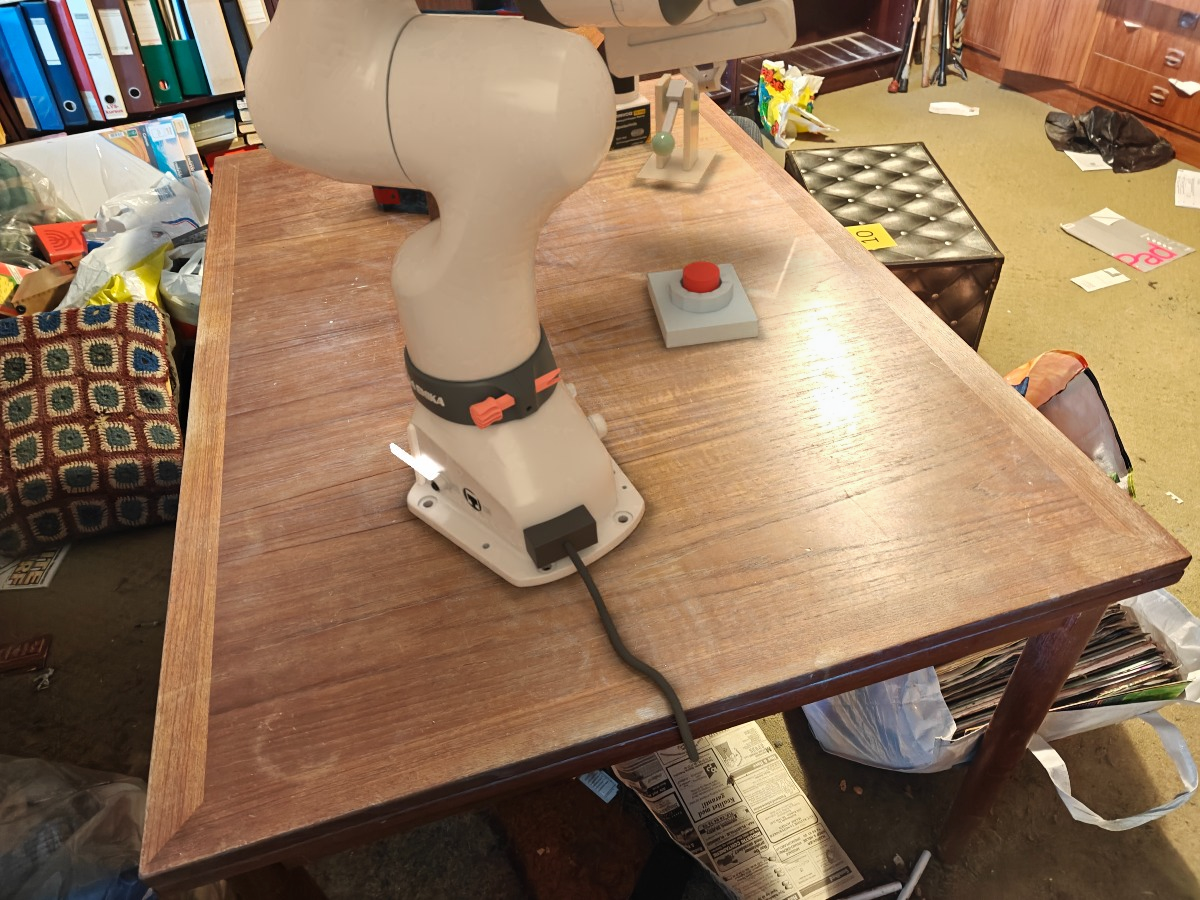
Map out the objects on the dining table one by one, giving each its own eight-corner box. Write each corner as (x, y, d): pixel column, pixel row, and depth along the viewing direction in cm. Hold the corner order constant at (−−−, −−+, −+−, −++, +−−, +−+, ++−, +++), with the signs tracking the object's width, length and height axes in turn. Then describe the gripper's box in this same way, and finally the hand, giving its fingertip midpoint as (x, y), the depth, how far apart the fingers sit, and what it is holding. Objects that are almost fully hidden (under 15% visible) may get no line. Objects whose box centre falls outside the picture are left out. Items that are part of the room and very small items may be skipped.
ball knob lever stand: (697, 191, 119) (699, 98, 110) (635, 184, 121) (632, 93, 112) (717, 157, 126) (720, 68, 117) (658, 152, 129) (657, 64, 120)
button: (722, 292, 93) (723, 278, 92) (686, 296, 93) (686, 282, 92) (714, 273, 96) (715, 259, 95) (679, 277, 96) (679, 263, 95)
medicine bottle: (608, 158, 128) (603, 75, 120) (591, 140, 133) (585, 60, 125) (651, 148, 130) (650, 66, 122) (633, 131, 135) (631, 51, 127)
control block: (757, 336, 93) (759, 305, 90) (666, 348, 92) (666, 317, 89) (730, 279, 102) (732, 249, 99) (647, 289, 101) (646, 259, 98)
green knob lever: (673, 162, 115) (669, 147, 112) (650, 160, 116) (646, 145, 113) (692, 94, 117) (689, 77, 114) (670, 92, 118) (666, 76, 115)
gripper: (585, 19, 86) (617, 122, 98) (792, -20, 81) (799, 94, 93) (589, -23, 89) (620, 82, 101) (790, -64, 84) (797, 53, 96)
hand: (708, 88), depth 97 cm, fingers closed
